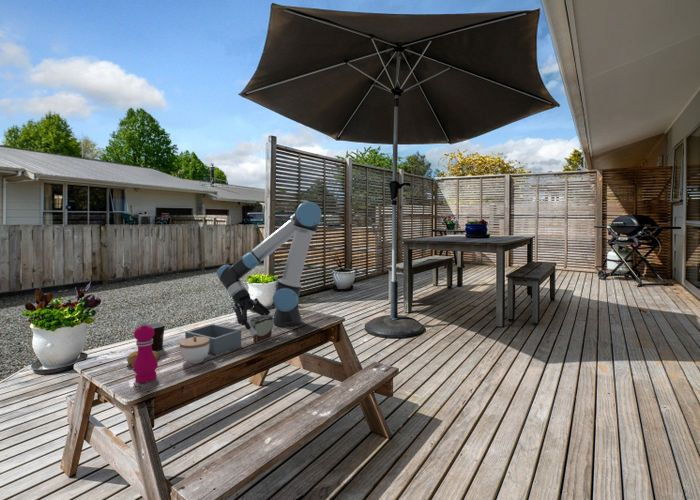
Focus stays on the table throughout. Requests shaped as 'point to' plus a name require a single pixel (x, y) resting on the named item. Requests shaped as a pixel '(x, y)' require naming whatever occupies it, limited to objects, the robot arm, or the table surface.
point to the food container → (262, 327)
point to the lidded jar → (195, 349)
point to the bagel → (132, 356)
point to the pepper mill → (144, 354)
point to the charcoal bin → (218, 338)
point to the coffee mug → (157, 335)
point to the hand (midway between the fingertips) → (264, 330)
